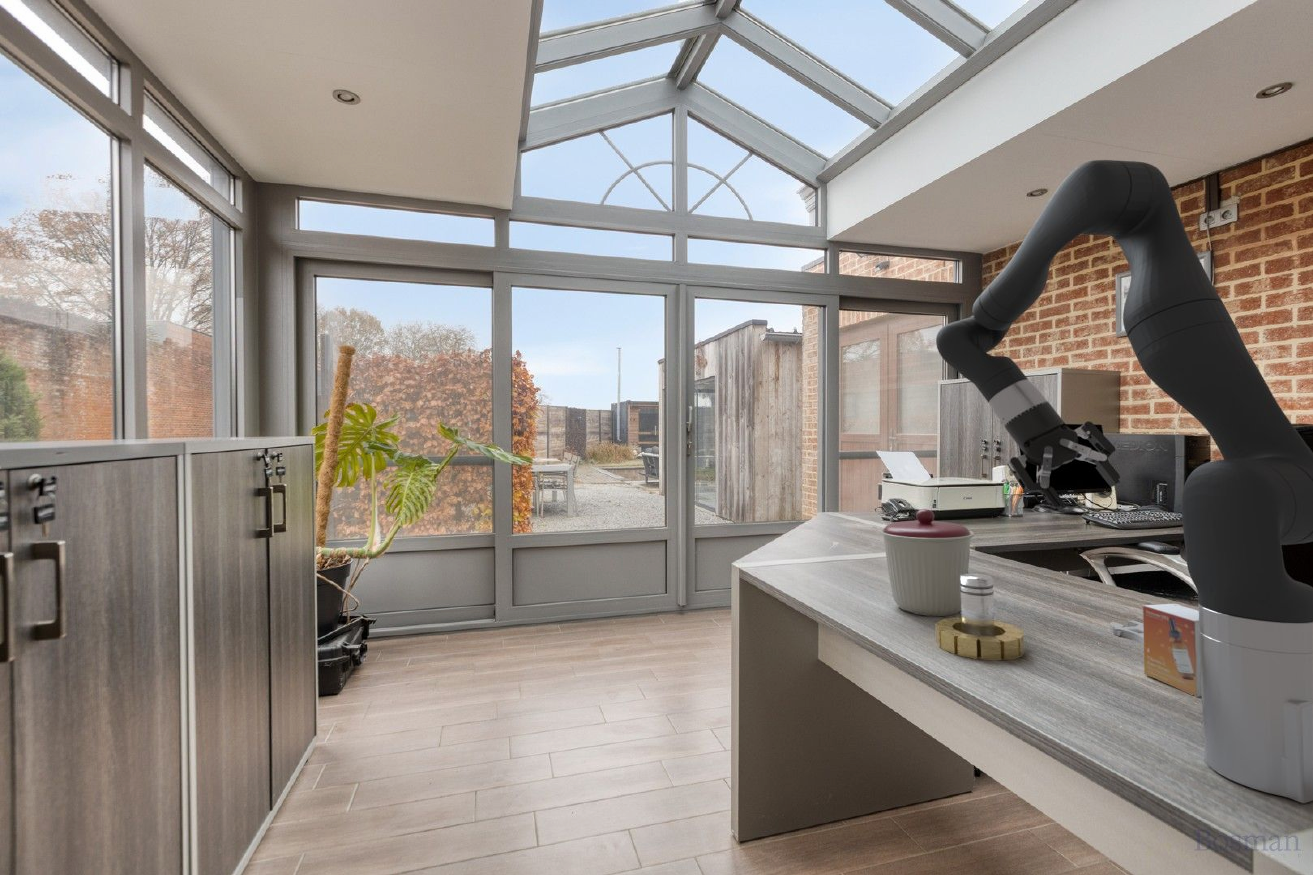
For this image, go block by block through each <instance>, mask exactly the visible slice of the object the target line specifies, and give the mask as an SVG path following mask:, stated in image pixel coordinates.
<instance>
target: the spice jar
mask: <svg viewBox="0 0 1313 875" xmlns="http://www.w3.org/2000/svg"><path fill="white" fill-rule="evenodd" d="M960 591H961V610H960V611H961V613H960V616H961V617H962V633H965V634H970V635H976V636H995V624H994V620H995V605H994V604H995V601H994V592H995V591H994V578H993V577H992V576H991V575H987V574H981V573H968V574H962V575H960Z"/></svg>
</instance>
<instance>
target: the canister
mask: <svg viewBox="0 0 1313 875" xmlns="http://www.w3.org/2000/svg"><path fill="white" fill-rule="evenodd" d="M915 517H916V520H906V521H897V522H891V523H889V524H887V525H886V526H885V527H883V528H881V529H880V530H879V533H880V534H881V535H882V536H883V544H884V551H885V556H886V565H887V571H888V576H889V582H890V588H891V592H892V598H893V601H894V603H896V605H897V607H899V608H900V609H901V610H903V611H904V612H908V613H912V614H915V615H921V616H928V617H929V616H932V617H941V616H943V617H944V616H949V615H950V616H951V615H954V614H957V613H959V612H960V611H961V591H960V575H962V574H969V565H970V552H971V539H972V538H973V537H974V536H975V532H974V531H972V530H969V529H968V528H967V527H966V526H964V525H962V524H958V523H953V522H947V521H946V522H945V521H937V520H935V513H934V512H933V511H932V510H930V509H922V508H921V509H919V510H918V511H916V513H915Z"/></svg>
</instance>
